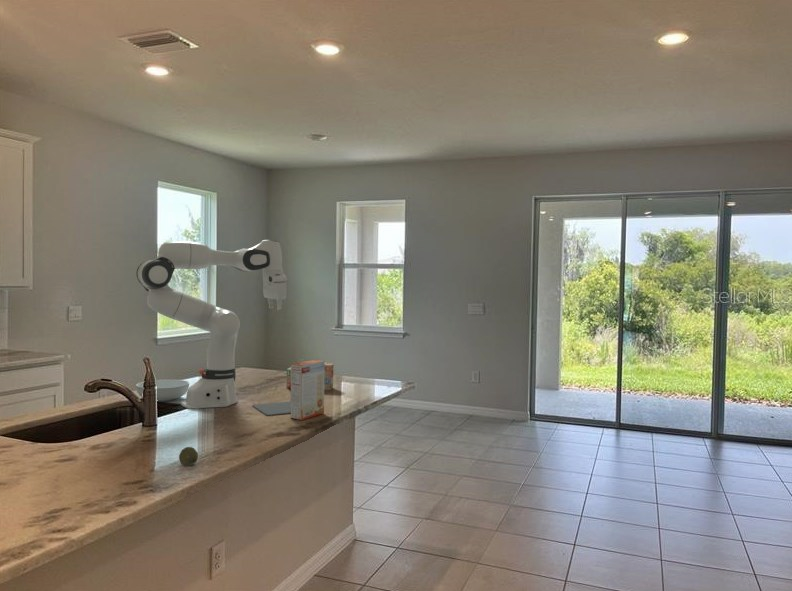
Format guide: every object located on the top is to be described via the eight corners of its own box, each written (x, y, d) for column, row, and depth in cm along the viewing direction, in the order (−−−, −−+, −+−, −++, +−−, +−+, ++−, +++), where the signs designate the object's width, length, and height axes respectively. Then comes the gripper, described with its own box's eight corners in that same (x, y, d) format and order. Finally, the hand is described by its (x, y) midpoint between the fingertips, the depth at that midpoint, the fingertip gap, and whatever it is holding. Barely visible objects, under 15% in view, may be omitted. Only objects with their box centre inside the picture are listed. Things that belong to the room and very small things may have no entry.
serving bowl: (188, 393, 261) (188, 378, 261) (189, 403, 241) (190, 387, 241) (136, 395, 253) (137, 379, 253) (134, 406, 234) (134, 389, 234)
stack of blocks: (286, 388, 278) (286, 362, 278) (289, 386, 285) (290, 360, 284) (330, 390, 276) (331, 364, 276) (333, 388, 283) (333, 362, 282)
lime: (200, 464, 166) (200, 447, 166) (184, 468, 163) (184, 450, 163) (192, 461, 169) (192, 443, 169) (176, 464, 166) (176, 447, 166)
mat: (266, 416, 224) (266, 414, 224) (252, 406, 240) (252, 405, 240) (315, 411, 235) (315, 409, 235) (298, 402, 250) (298, 400, 250)
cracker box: (312, 411, 234) (313, 359, 233) (324, 413, 231) (325, 360, 230) (288, 418, 222) (290, 363, 221) (301, 420, 219) (302, 364, 218)
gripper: (258, 277, 261) (260, 308, 263) (274, 278, 244) (276, 311, 245) (272, 276, 265) (274, 306, 266) (288, 277, 247) (290, 309, 248)
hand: (275, 309), depth 255 cm, fingers open, 8 cm apart
